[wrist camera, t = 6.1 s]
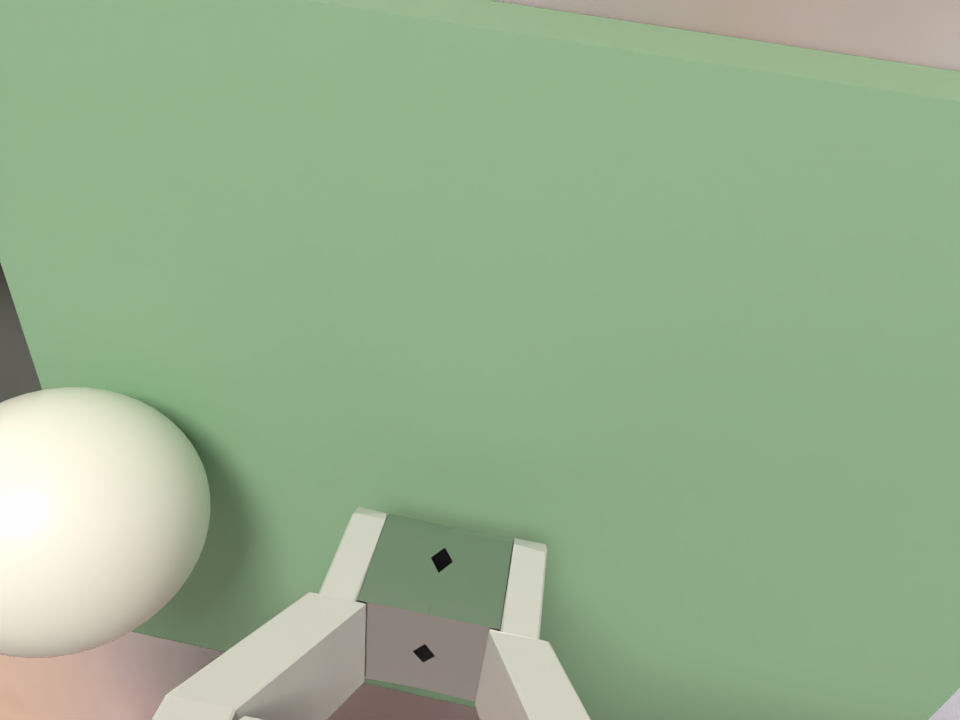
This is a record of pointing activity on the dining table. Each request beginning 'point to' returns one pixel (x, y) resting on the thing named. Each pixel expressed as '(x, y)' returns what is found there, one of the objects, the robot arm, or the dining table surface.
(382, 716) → the dining table surface
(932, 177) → the green board
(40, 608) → the ball
